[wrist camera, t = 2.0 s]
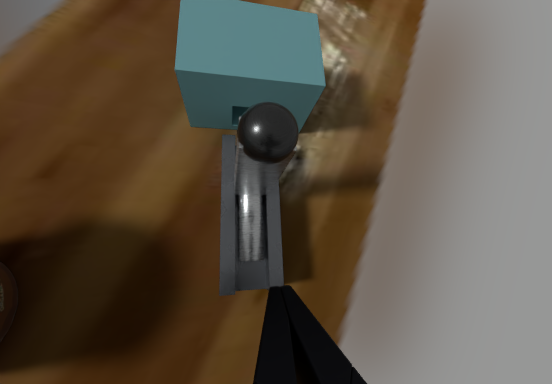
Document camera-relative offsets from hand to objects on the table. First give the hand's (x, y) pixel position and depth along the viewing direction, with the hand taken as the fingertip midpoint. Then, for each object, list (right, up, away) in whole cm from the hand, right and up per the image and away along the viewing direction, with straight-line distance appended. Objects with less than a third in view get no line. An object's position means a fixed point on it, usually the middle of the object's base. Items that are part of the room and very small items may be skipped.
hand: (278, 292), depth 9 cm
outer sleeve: (-3, +3, +15) cm, 15 cm away
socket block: (-3, +15, +18) cm, 23 cm away
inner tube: (-3, +4, +13) cm, 14 cm away
